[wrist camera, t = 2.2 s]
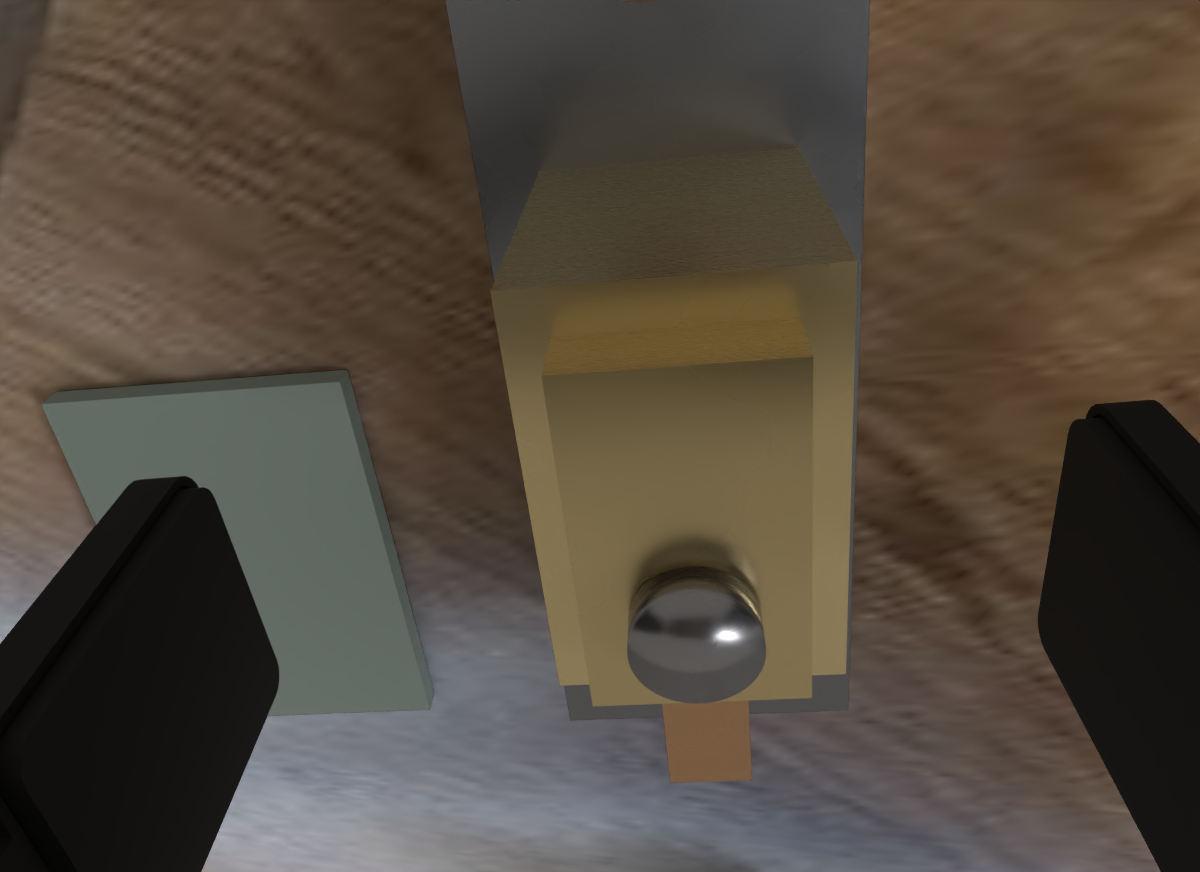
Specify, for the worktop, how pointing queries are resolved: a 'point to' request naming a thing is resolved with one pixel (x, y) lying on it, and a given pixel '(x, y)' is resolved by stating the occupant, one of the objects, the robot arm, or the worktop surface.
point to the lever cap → (685, 423)
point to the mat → (273, 519)
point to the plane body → (657, 132)
